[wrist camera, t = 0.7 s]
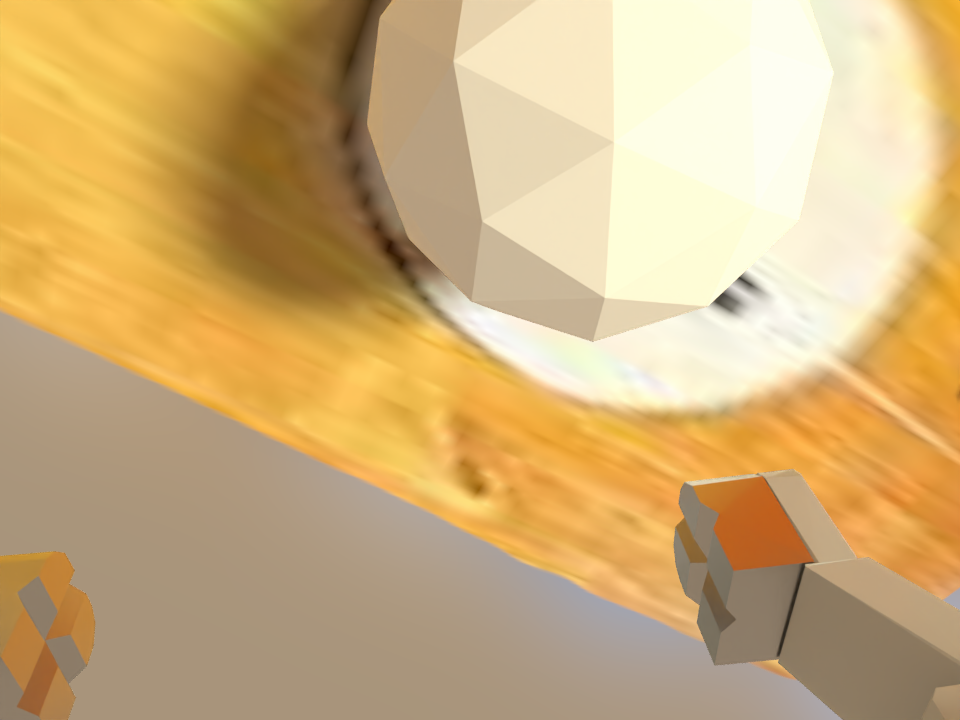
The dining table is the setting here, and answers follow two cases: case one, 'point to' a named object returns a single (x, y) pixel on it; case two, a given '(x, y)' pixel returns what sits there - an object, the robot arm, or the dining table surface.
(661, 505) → the dining table surface
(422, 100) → the geometric orb
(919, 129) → the dining table surface
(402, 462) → the dining table surface
